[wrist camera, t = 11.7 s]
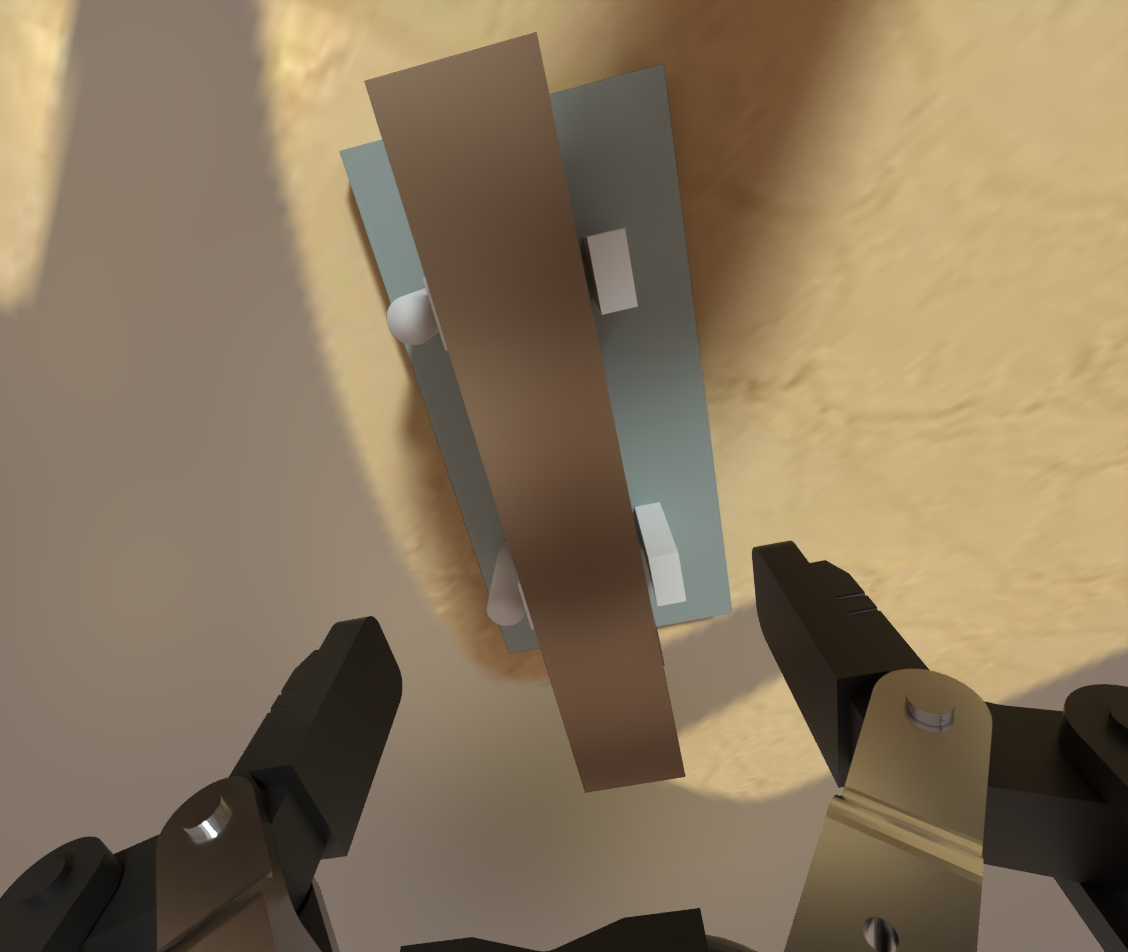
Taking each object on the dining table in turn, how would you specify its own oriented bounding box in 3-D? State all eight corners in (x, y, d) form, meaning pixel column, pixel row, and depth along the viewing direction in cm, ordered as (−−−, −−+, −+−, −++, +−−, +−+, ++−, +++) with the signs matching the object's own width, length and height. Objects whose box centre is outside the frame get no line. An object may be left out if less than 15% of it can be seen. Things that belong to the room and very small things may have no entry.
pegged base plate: (353, 156, 21) (281, 128, 16) (656, 75, 20) (691, 15, 15) (511, 635, 31) (499, 721, 25) (724, 596, 30) (761, 677, 24)
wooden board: (469, 167, 20) (358, 82, 9) (553, 145, 20) (542, 30, 9) (574, 569, 27) (581, 793, 16) (637, 556, 27) (688, 776, 16)
